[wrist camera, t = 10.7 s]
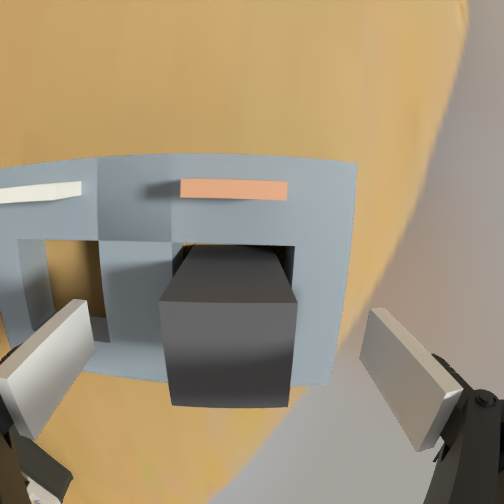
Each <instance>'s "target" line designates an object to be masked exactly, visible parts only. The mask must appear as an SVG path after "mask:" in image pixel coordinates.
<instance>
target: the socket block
mask: <svg viewBox="0 0 504 504" xmlns="http://www.w3.org/2000/svg"><path fill="white" fill-rule="evenodd" d="M356 180H357V163H351V162H343V161H333V160H323V159H312V158H299V157H285V156H269V155H247V154H145V155H123V156H107V157H94V158H82V159H72V160H62V161H53V162H45V163H37V164H30V165H23V166H16V167H10V168H4V169H0V310H1V314H2V318H3V322H4V326H5V330H6V333H7V337H8V340H9V344H10V347H11V350H12V349H13V348H14V347H16V346H18V345H20V344H22V343H24V342H25V341H26V340H27V339H28V338H30V337H31V336H32V335H33V334H34V333H35V332H36V331H37V330H38V329H39V328H41V327H42V326H43V325H44V324H45V323H46V322H47V321H48V320H50V319H51V318H52V317H53V316H54V315H55V314H56V313H58V312H55V308H54V303H53V297H52V291H51V285H50V278H49V271H48V263H47V255H46V245H45V240H93V241H99V255H100V267H101V277H102V287H103V295H104V303H105V310H106V317H107V318H104V317H95V316H89V318H90V323H91V329H92V334H93V339H94V344H95V349H96V351H95V353H94V354H93V355H92V357H91V358H90V360H89V361H88V362H87V364H86V365H85V367H84V368H83V369H82V371H86V372H91V373H97V374H103V375H109V376H116V377H123V378H130V379H138V380H146V381H155V382H165V383H168V378H167V371H166V364H165V357H164V349H163V341H162V332H161V323H160V313H159V303H158V301H159V299H160V298H161V296H162V294H163V293H164V291H165V289H166V288H167V286H168V285H169V283H170V281H171V280H172V278H173V277H174V275H175V274H176V272H177V270H178V269H179V267H180V266H181V264H182V263H183V243H213V244H247V245H279V246H285V253H284V268H283V271H284V273H285V275H286V278H287V280H288V282H289V284H290V286H291V289H292V291H293V293H294V295H295V297H296V300H297V302H298V308H297V320H296V332H295V343H294V354H293V364H292V374H291V383H290V386H312V385H328V384H329V382H330V377H331V372H332V368H333V363H334V358H335V352H336V347H337V341H338V336H339V330H340V324H341V318H342V312H343V305H344V298H345V291H346V284H347V277H348V269H349V260H350V252H351V242H352V232H353V221H354V209H355V196H356Z"/></svg>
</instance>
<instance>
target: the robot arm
mask: <svg viewBox="0 0 504 504" xmlns="http://www.w3.org/2000/svg"><path fill="white" fill-rule="evenodd" d="M95 351H96V349H95V344H94V339H93V334H92V329H91V323H90V318H89V312H88V305H87V300H79V299H73V300H72V301H70V302H69V303H68V304H67V305H66V306H65V307H63V308H62V309H61V310H60V311H59V312H58V313H56V314H55V315H54V316H53V317H52V318H51V319H50V320H48V321H47V322H46V323H45V324H44V325H43V326H42V327H41V328H39V329H38V330H37V331H36V332H35V333H34V334H33V335H32V336H31V337H30V338H28V339H27V340H26V341H25V342H24V343H22V344H20V345H18V346H16V347H14V348H13V349H12V350H11V351H10V352H8V353H7V356H6V355H5V356H4V357H3V358H2V359H1V361H0V504H31V501H30V498H29V495H28V492H27V489H26V485H25V482H24V479H23V475H22V472H21V468H20V464H19V460H18V456H17V452H16V447H15V443H14V438H13V435H12V433H11V431H10V428H11V426H12V425H13V424H14V425H15V427H16V429H17V430H18V432H19V434H20V435H22V436H24V437H27V438H29V439H32V440H35V441H36V439H37V437H38V436H39V434H40V433H41V431H42V429H43V428H44V426H45V425H46V423H47V422H48V420H49V418H50V417H51V415H52V414H53V412H54V411H55V409H56V408H57V406H58V405H59V403H60V402H61V400H62V399H63V397H64V396H65V394H66V393H67V391H68V390H69V388H70V387H71V385H72V384H73V382H74V381H75V380H76V378H77V377H78V375H79V374H80V372H81V371H82V369H83V368H84V367H85V365H86V364H87V362H88V361H89V360H90V358H91V357H92V355H93V354H94V353H95ZM360 360H361V361H362V363H363V365H364V366H365V368H366V370H367V371H368V372H369V374H370V375H371V377H372V379H373V381H374V382H375V384H376V385H377V387H378V389H379V390H380V392H381V394H382V395H383V397H384V399H385V400H386V402H387V403H388V405H389V407H390V408H391V410H392V412H393V413H394V415H395V416H396V418H397V420H398V421H399V423H400V425H401V426H402V428H403V430H404V431H405V433H406V435H407V437H408V438H409V440H410V442H411V443H412V445H413V447H414V449H415V450H416V452H419V451H423V450H426V449H429V448H433V447H434V445H435V444H436V442H437V440H438V439H439V437H440V436H441V437H442V439H443V440H444V444H443V446H442V447H441V449H440V451H439V452H438V454H437V455H436V457H435V459H434V460H433V462H436V460H437V459H438V461H437V464H436V468H435V471H434V474H433V478H432V480H431V484H430V486H429V490H428V492H427V495H426V498H425V500H424V503H423V504H504V400H499V399H498V398H497V397H496V396H495V395H494V394H493V393H491V392H490V391H487V390H482V389H478V390H473V389H472V388H471V387H470V386H469V385H468V384H467V383H466V382H465V381H464V380H463V378H462V377H461V376H460V375H459V374H458V373H456V372H455V370H454V369H453V368H450V365H449V364H448V363H447V362H446V361H445V360H444V359H442V358H441V357H439V356H437V355H435V354H430V353H429V352H428V351H427V350H426V349H425V348H424V347H423V346H422V345H421V344H420V343H419V342H418V341H417V340H416V339H415V338H414V337H413V336H412V335H411V334H410V333H409V332H408V331H407V330H406V329H405V328H404V327H403V326H402V325H401V324H400V323H399V322H398V321H397V320H396V319H395V318H394V317H393V316H392V315H391V314H389V312H388V311H387V310H386V309H385V308H370V309H369V315H368V320H367V325H366V330H365V335H364V339H363V344H362V349H361V353H360Z"/></svg>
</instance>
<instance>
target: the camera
mask: <svg viewBox="0 0 504 504" xmlns="http://www.w3.org/2000/svg"><path fill="white" fill-rule="evenodd" d="M10 431H11V433H12V435H13V438H14V443H15V447H16V452H17V456H18V460H19V464H20V468H21V472H22V475H23V479H24V482H25V485H26V489H27V492H28V495H29V498H30V500H31V501H33V502H34V503H35V504H62V503H63V498H64V496H65V493H66V491H67V489H68V487H69V484H70V482H71V480H73V476H72V474H71V472H70V471H69V470H67V469H66V468H65V467H64V466H62V465H61V464H60V463H58V462H57V461H56V460H55V459H53V458H52V457H51V456H50V455H48V454H47V453H46V452H45V451H44V450H42V449H41V448H40V447H39V446H38V445H37V444H35V443H34V442H33V441H32V440H31V439H29V438H27V437H24V436H22V435H20V434H19V432H18V430H17V429H16V427H15V425H14V424H13V425H12V426H11V428H10Z"/></svg>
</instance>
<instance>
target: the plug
mask: <svg viewBox="0 0 504 504" xmlns="http://www.w3.org/2000/svg"><path fill="white" fill-rule="evenodd" d="M158 303H159V313H160V323H161V332H162V341H163V349H164V357H165V364H166V371H167V378H168V384H169V391H170V397H171V403H172V405H174V406H188V407H208V408H276V407H288V401H289V392H290V383H291V374H292V364H293V354H294V343H295V332H296V320H297V308H298V302H297V300H296V297H295V295H294V293H293V291H292V289H291V286H290V284H289V282H288V280H287V278H286V275H285V273H284V271H283V269H282V267H281V264H280V262H279V260H278V258H277V256H276V253H275V251H274V249H273V247H272V245H194V246H193V247H192V249H191V250H190V252H189V253H188V255H187V256H186V258H185V259H184V261H183V263H182V264H181V266H180V267H179V269H178V270H177V272H176V274H175V275H174V277H173V278H172V280H171V281H170V283H169V285H168V286H167V288H166V289H165V291H164V293H163V294H162V296H161V298H160V299H159V301H158Z"/></svg>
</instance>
